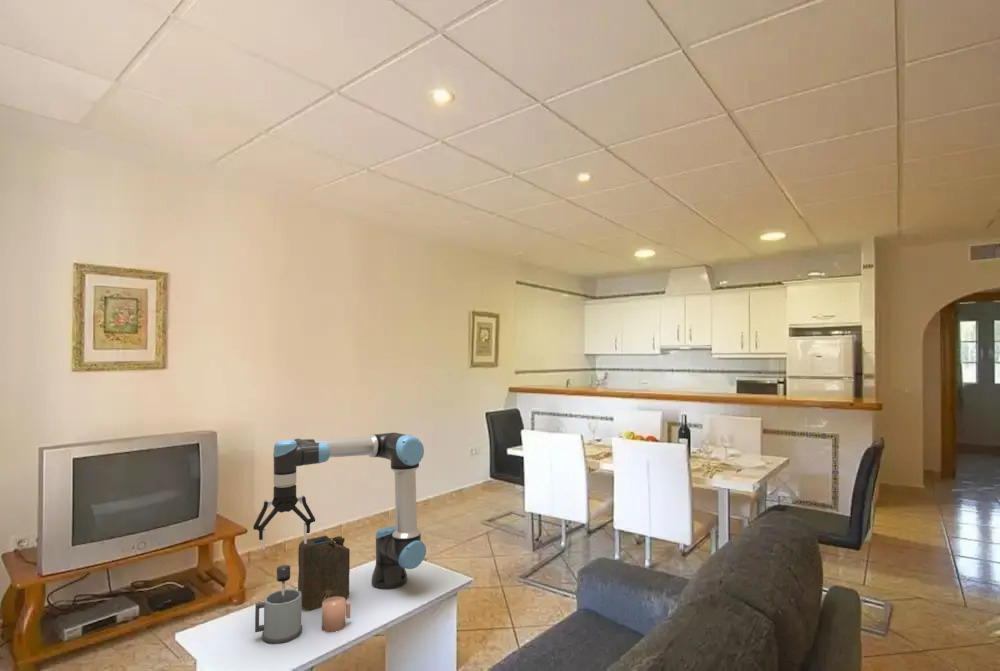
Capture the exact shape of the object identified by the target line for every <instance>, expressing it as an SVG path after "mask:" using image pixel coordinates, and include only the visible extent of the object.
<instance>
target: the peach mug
mask: <svg viewBox="0 0 1000 671" xmlns="http://www.w3.org/2000/svg"><path fill="white" fill-rule="evenodd" d="M321 608H322V609H321V610H322V612H321V629H322V631H323V632H324V631H325V633H337V632H339V631H341V630H344V629H345V627H346V619H347V620H348V619H351V601H346V599H345V598H344V597H340V596H335V597H330V598H327V599H325V600H324V601H323V602H322V607H321ZM336 631H337V632H336Z"/></svg>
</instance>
